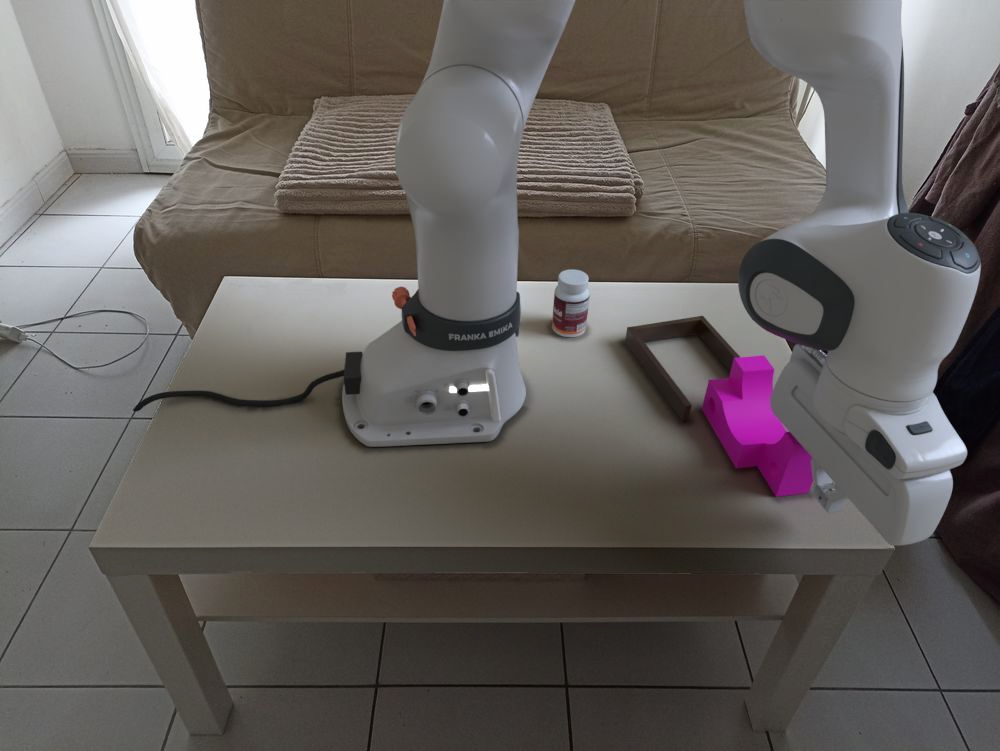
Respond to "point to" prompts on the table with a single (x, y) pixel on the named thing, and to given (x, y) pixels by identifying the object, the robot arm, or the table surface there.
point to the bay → (673, 330)
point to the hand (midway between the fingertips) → (825, 502)
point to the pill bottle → (571, 303)
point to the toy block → (756, 427)
